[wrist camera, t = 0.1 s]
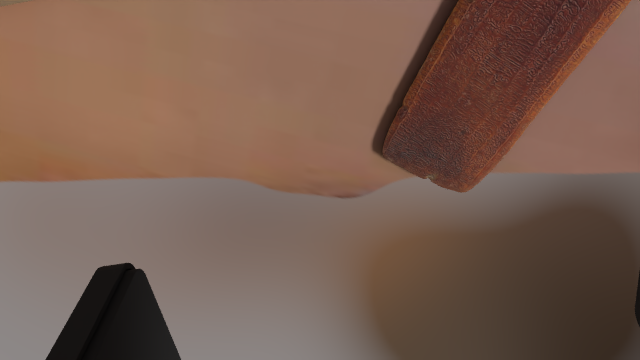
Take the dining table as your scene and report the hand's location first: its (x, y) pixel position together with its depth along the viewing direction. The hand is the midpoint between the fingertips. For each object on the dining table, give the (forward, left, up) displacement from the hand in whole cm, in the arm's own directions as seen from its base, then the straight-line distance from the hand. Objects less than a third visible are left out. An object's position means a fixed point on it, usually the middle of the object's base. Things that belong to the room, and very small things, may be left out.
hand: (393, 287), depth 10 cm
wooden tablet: (+5, +12, -31) cm, 34 cm away
